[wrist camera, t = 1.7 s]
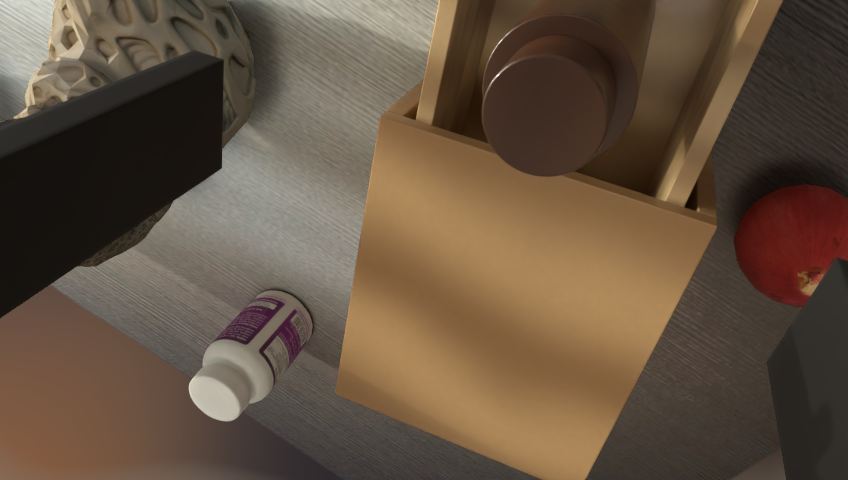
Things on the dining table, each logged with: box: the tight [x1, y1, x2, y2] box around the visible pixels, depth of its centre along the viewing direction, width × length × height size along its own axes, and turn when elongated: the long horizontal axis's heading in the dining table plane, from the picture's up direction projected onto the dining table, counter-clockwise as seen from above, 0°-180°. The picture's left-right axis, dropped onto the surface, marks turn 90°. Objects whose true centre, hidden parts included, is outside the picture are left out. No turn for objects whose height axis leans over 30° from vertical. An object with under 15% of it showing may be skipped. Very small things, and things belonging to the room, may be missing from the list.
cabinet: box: [335, 80, 718, 480], centre depth 36 cm, size 18×15×11 cm
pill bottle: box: [189, 290, 313, 421], centre depth 48 cm, size 5×5×10 cm
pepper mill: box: [482, 0, 656, 177], centre depth 25 cm, size 5×5×16 cm
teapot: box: [13, 0, 256, 267], centre depth 36 cm, size 21×12×15 cm, turn 166°
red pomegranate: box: [734, 184, 848, 307], centre depth 32 cm, size 6×6×8 cm
